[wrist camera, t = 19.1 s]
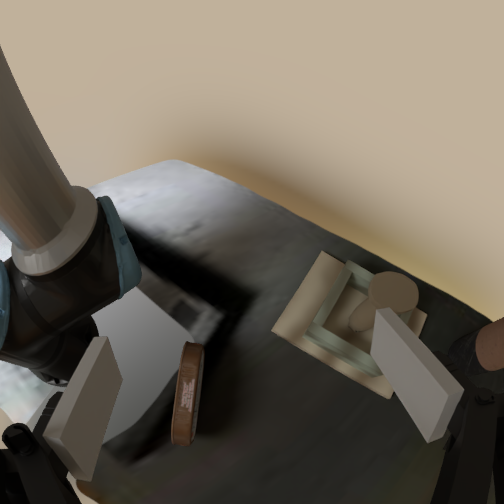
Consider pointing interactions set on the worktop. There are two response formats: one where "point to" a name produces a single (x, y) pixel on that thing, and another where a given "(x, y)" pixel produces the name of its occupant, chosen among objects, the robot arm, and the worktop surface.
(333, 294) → the socket board
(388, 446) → the worktop surface
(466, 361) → the travel mug
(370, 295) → the handle
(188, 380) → the tin
